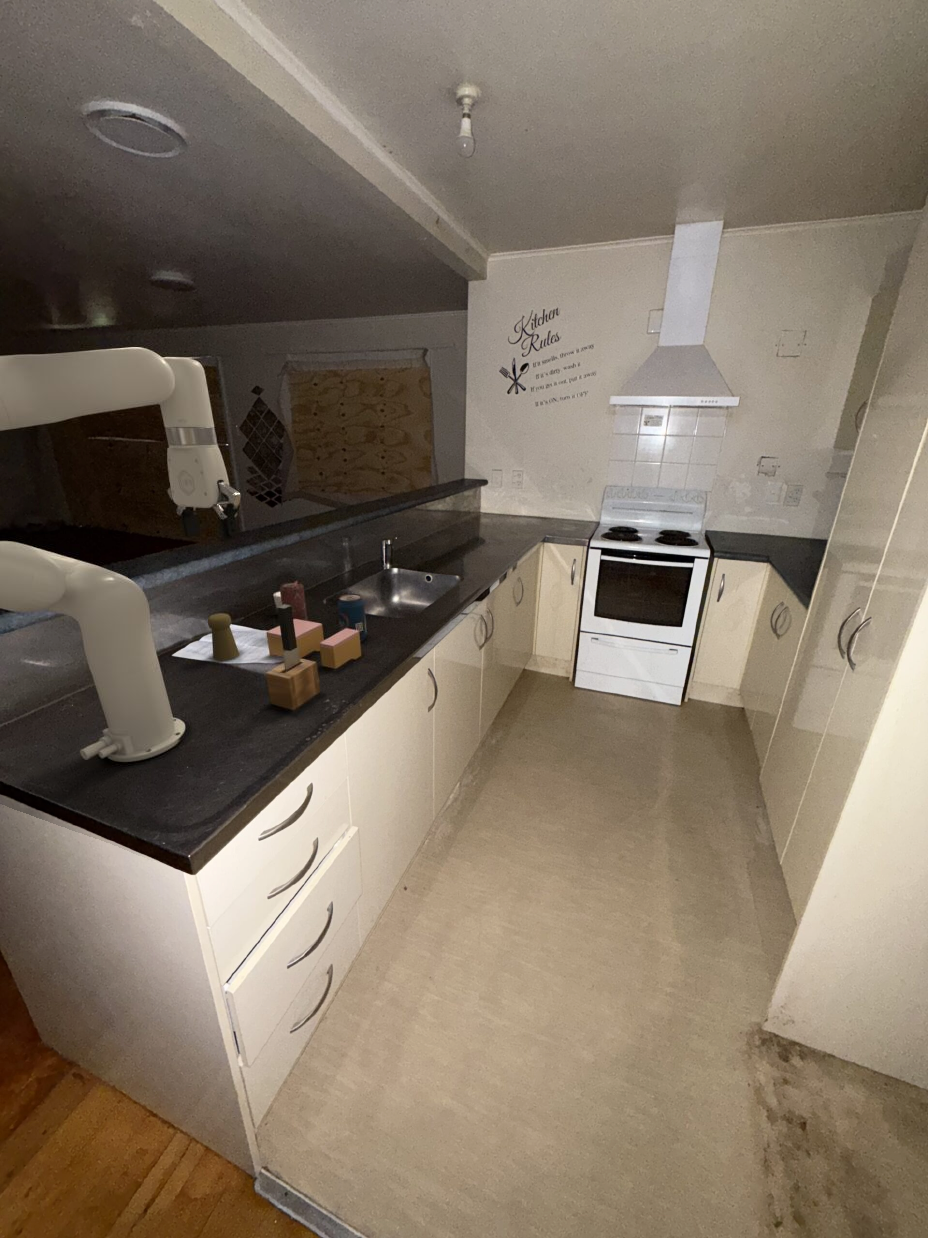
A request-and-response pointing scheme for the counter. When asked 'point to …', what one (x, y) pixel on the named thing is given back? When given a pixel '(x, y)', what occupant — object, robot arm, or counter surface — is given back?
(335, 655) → the cake slice
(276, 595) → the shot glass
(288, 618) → the knife
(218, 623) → the olive pepper shaker
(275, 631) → the cake
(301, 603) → the can
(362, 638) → the soda can
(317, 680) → the knife block
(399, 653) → the counter surface
